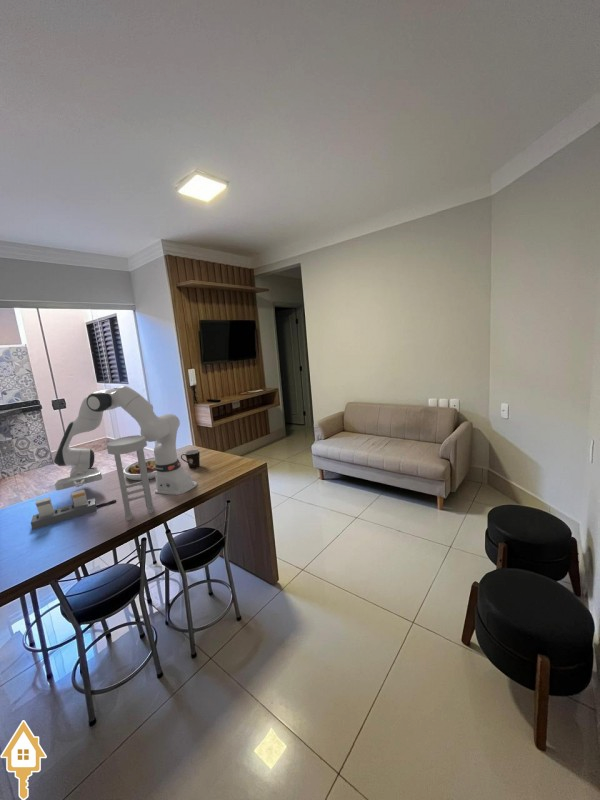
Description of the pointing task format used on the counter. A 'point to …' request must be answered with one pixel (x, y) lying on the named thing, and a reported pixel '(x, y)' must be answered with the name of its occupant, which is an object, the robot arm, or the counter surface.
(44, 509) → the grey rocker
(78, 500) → the white upright block
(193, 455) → the coffee mug
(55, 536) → the counter surface
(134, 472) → the bowl
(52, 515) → the power strip
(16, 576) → the counter surface
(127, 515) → the stool
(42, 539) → the counter surface
